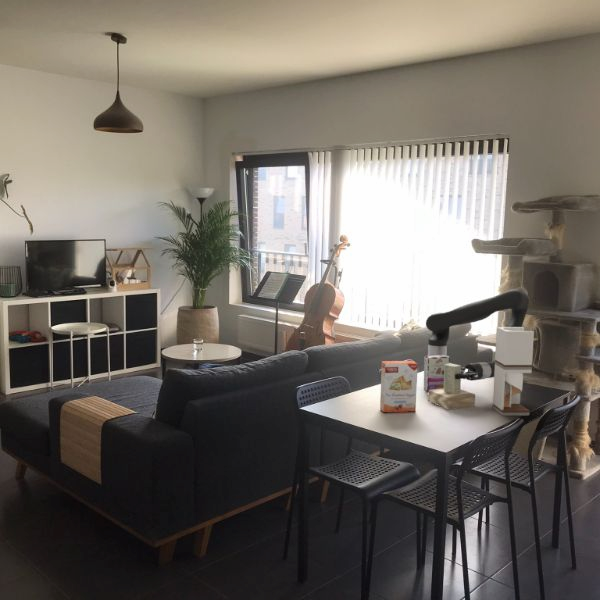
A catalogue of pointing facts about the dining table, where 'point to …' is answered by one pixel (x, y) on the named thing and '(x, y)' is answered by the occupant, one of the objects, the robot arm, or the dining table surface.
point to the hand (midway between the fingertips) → (449, 374)
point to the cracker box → (398, 386)
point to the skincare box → (452, 378)
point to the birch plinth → (451, 398)
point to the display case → (511, 368)
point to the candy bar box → (434, 371)
